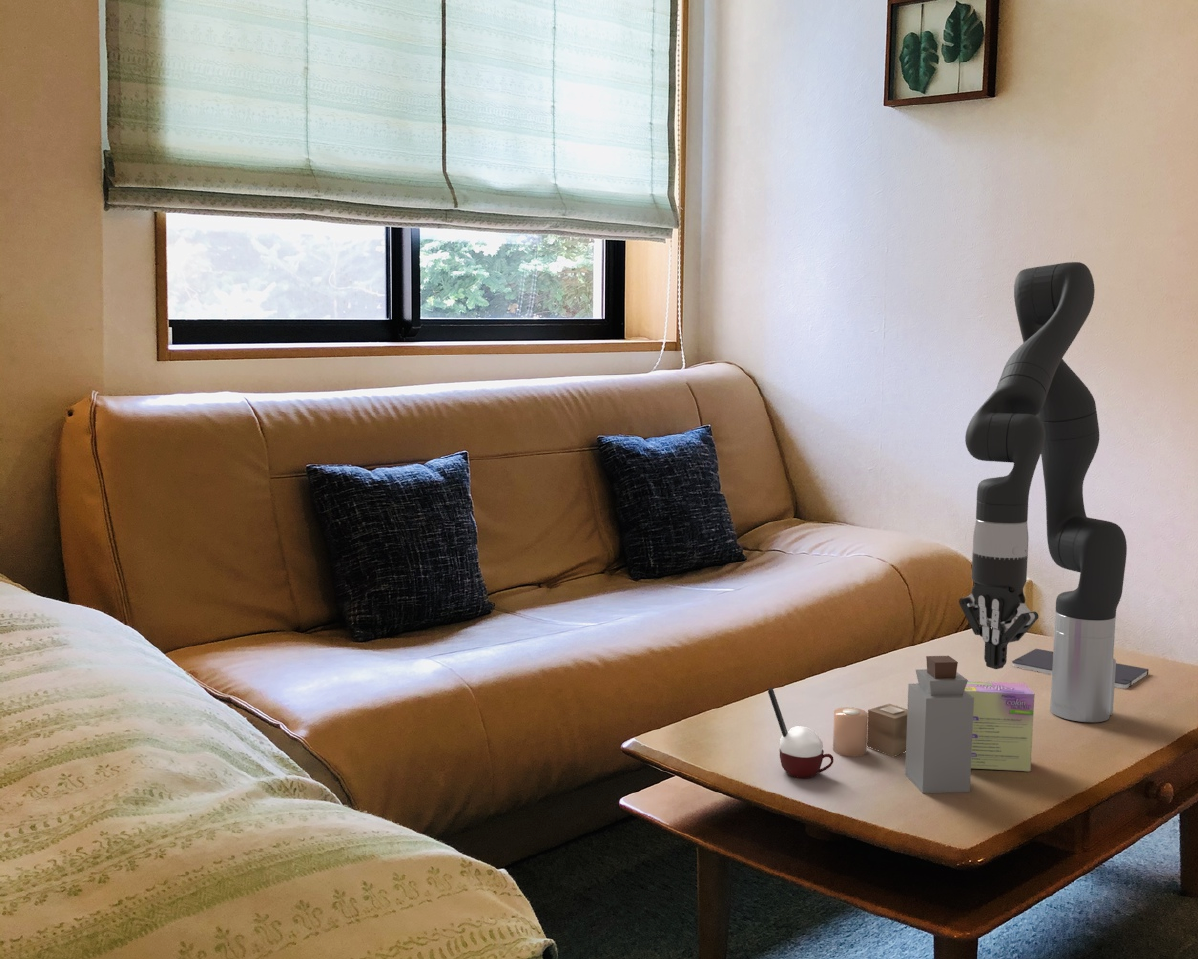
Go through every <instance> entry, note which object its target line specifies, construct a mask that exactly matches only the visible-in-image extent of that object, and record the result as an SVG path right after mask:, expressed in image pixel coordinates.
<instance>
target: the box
mask: <svg viewBox="0 0 1198 959" xmlns="http://www.w3.org/2000/svg"><path fill="white" fill-rule="evenodd" d="M965 691H966V692H968V693H969V694H970V695H972V696H973V697H974V709H973V731H972V753H971V769H972V770H973V769H977V770H997V771H998V770H999V771H1013V772H1015V771H1016V772H1025V773H1027V772H1031V770H1032V768H1031V767H1032V766H1031V765H1032V764H1031V763H1032V749H1033V748H1032V747H1033V731H1034V729H1033V727H1034V710H1035V709H1034V708H1035V693H1034V691H1033V690H1032V689H1031V688H1030V687H1029V686H1028V685H1027V684H1026V683H1023V682H998V681H997V682H995V681H974V680H973V681H972V680H971V681H970V680H968V681H967V684H966V687H965Z"/></svg>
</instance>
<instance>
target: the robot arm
mask: <svg viewBox="0 0 1198 959" xmlns="http://www.w3.org/2000/svg"><path fill="white" fill-rule="evenodd" d="M1094 283H1095V282H1094V278H1093V275H1092V273H1091V270H1090V269H1089V267H1088V266H1087V265H1086V264H1085V263H1082V262H1080V261H1079V262H1078V261H1069V262H1061V263H1056V264H1055V263H1054V264H1048V265H1042V266H1040V265H1039V266H1036V267H1035V266H1033V267H1027V268H1024V269H1022V270H1020V271H1019V272H1018V273H1017V275H1016V277H1015V279H1014V284H1013V298H1014V300H1013V301H1014V306H1015V312H1016V315H1017V316H1016V317H1017V322H1018V326H1019V330H1020V335H1021V339H1022V344H1021V345H1020V346H1018V347H1017V349H1016V350H1014V351H1013V353H1012V354H1011V355H1010V357H1009V358H1008V360H1007V361H1006V363H1005V365H1004V368H1003V370H1002V372H1001V375H1000V378H999V380H998V383H997V386H996V388H995V389H994V391H993V392H992V393H991V394H990V395H989V397H988V398H987V399H986V400H985V402H984V403H983V404H982V405H981V406H980V407H979V408H978V409H977V411H976V412H975V413H974V415H973V416H972V418H971V419H970V421H969V422H968V426H967V428H966V431H965V447H966V448H967V451H968V453H969V454H970V456H972V457H973V458H974V459H976V460H979V461H982V462H983V461H984V462H995V463H996V462H997V463H998V462H999V463H1009V464H1010V463H1012V464H1013V466H1012V470H1011V471H1010V472H1009V474H1008V475H1007V474H1006V475H1004V476H996V477H990V478H985V479H983V480H981V481H980V482H979V483H978V485H977V490H976V508H975V509H976V510H975V523H974V524H975V525H974V528H973V529H974V530H973V538H972V556H971V557H972V561H971V580H972V581H973V587H972V588H971V593H970V594H969V595H967V596H965V597H961V598H959V599H958V605H959V607H960V608H961V611H962V612H963V614H964V616H965V618H966V620H967V622H968V623H969V626H970V628H971V630H972V632H973V634H974V635H975V636H980V637H981V638H982V640H983V641H984V657H983V658H984V662H985V665H986V667H987V668H991V669H993V670H1000V669H1003V668H1004V667H1005V665H1006V664H1007V655H1008V644H1009V643H1014V642H1019V641H1020V640H1021V638H1022V637H1023V636H1024V635H1025V634H1026V633H1027V632H1028V631H1029V630H1030V628H1031V627H1032V626H1033V625H1034V624H1035V622H1037V620H1038V619H1039V613H1038V612H1037V611H1031V610H1030V608H1028V606H1027V605H1026V596H1025V593H1024V587H1025V585H1026V583H1027V578H1028V576H1027V574H1028V560H1029V559H1028V558H1029V556H1028V555H1029V529H1028V518H1029V517H1028V516H1029V514H1028V513H1029V499H1030V498H1029V496H1030V490H1031V485H1032V482H1033V479H1034V474H1035V470H1036V468H1037V465H1038V463H1039V460H1040V457H1041V463H1042V464H1041V465H1042V473H1043V474H1042V475H1043V480H1044V481H1043V482H1044V492H1045V512H1046V513H1045V514H1046V517H1045V518H1046V539H1047V540H1046V541H1047V546H1048V551H1049V555H1050V557H1051V559H1052V562H1054V564H1056V565H1057V566H1058V567H1060V568H1062V569H1064V570H1069V571H1073V572H1076V573H1079V581H1078V584H1077V585H1078V586H1077V587H1076V589H1074V590H1069V591H1064V592H1061V593H1059V594H1058V595H1057V596H1056V600H1055V612H1054V630H1053V649H1052V650H1053V651H1052V652H1053V667H1052V675H1051V687H1050V689H1051V691H1050V707H1049V708H1050V709H1049V711H1050V712H1051V714H1053V715H1055V716H1057V717H1059V718H1062V719H1065V720H1069V721H1074V722H1075V721H1076V722H1080V723H1081V722H1083V723H1101V722H1105V721H1108V720H1109V719H1110V716H1111V715H1113V713H1114V702H1115V701H1114V700H1115V699H1114V698H1115V688H1116V687H1115V670H1116V663H1117V660H1116V659H1115V658H1114V654H1115V653H1114V652H1115V639H1116V638H1115V637H1116V636H1115V633H1116V617H1117V608H1118V606H1119V604H1120V601H1121V599H1122V595H1123V589H1124V588H1123V587H1124V581H1125V580H1124V579H1125V573H1126V572H1125V571H1126V564H1127V554H1128V553H1127V552H1128V551H1127V550H1128V547H1127V539H1126V534H1125V532H1124V530H1123V529H1122V527H1121V526H1120V525H1118V524H1117V523H1115V522H1112V521H1109V520H1103V519H1099V518H1093V517H1088V516H1087V514H1086V509H1085V503H1084V493H1083V492H1084V489H1083V488H1084V481H1085V478H1086V475H1087V473H1088V470H1089V469H1090V466H1091V464H1092V462H1093V460H1094V457H1095V456H1096V453H1097V450H1098V447H1099V443H1100V427H1099V419H1098V412H1097V405H1096V401H1095V400H1096V399H1095V398H1094V396H1093V394H1092V392H1091V390H1090V389H1089V388H1088V387H1087V385H1086V384H1085V383H1084V382H1083V380H1081V378H1080V377H1079V376H1078V375H1077V374H1076V373H1075V372H1074V370H1072V368H1071V367H1070V366H1069V365H1068V364H1067V363H1066V360H1064V359H1063V358H1064V356H1065V355H1066V353H1067V351H1068V350H1069V349H1070V347H1071V346H1072V344H1073V342H1074V341H1075V339H1076V337H1077V335H1078V334H1079V332H1080V331H1081V328H1082V327H1083V325H1085V322H1086V320H1087V319H1088V317H1089V315H1090V312H1091V311H1092V308H1093V305H1094V301H1095V293H1096V292H1095V290H1096V289H1095V284H1094Z"/></svg>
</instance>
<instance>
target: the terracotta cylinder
mask: <svg viewBox="0 0 1198 959" xmlns="http://www.w3.org/2000/svg"><path fill="white" fill-rule="evenodd" d="M867 731H868V711H866V710H865V709H860V708H855V707H850V706H849V707H838V708H835V709H834V711H833V733H832V734H833V735H832V736H833V737H832V739H833V740H832V751H833V753H835V754H836V755H840V756H842V757H843V756H844V757H850V758H853V757H854V758H855V757H856V756H858V757H863V756H865V755H866V754H867V748H868V747H867ZM864 754H865V755H864ZM862 755H863V756H862Z"/></svg>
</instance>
